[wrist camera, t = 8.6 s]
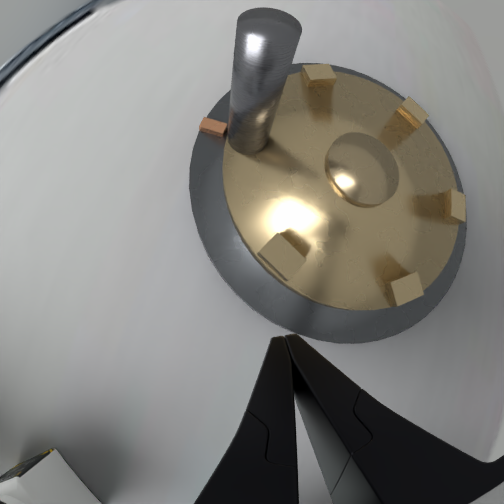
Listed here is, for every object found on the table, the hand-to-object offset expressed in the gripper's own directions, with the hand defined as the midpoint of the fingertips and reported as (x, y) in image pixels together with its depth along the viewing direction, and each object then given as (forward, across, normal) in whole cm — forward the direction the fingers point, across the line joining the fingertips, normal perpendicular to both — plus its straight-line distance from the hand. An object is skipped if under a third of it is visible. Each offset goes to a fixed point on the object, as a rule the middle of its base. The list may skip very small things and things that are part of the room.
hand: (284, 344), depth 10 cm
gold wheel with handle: (+16, +9, -1) cm, 18 cm away
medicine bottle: (-1, -21, -18) cm, 28 cm away
